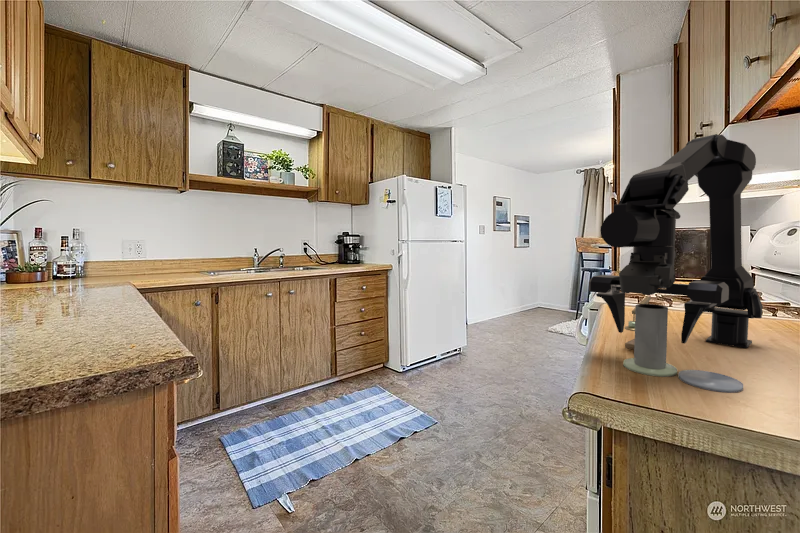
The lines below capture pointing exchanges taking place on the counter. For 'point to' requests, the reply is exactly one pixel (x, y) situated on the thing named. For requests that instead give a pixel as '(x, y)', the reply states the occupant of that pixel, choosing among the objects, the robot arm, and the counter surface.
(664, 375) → the dish green
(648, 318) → the planter
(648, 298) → the balance
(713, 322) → the robot arm
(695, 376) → the dish grey
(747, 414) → the counter surface
